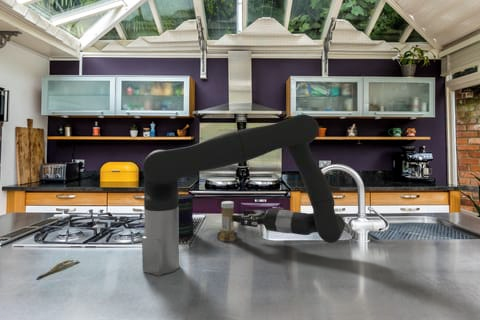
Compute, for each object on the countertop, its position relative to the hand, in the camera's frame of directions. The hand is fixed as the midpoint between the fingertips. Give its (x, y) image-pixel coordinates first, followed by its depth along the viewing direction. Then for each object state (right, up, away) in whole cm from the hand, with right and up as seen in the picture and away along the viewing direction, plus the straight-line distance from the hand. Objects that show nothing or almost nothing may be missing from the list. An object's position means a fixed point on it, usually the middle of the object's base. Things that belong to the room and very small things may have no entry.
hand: (238, 215), depth 109 cm
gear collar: (-4, -9, +3) cm, 10 cm away
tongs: (-50, -11, -25) cm, 57 cm away
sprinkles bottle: (-4, -9, +3) cm, 10 cm away
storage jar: (-22, -9, +7) cm, 25 cm away
